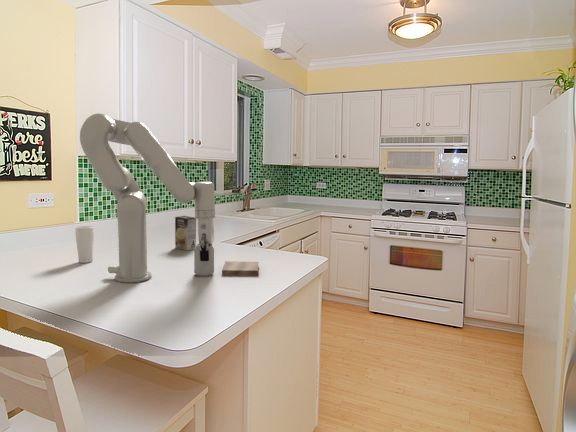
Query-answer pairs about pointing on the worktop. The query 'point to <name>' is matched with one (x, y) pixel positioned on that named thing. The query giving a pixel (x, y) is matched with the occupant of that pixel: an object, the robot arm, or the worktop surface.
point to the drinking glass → (85, 243)
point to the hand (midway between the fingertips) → (206, 257)
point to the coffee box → (185, 232)
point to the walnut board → (240, 268)
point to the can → (203, 262)
